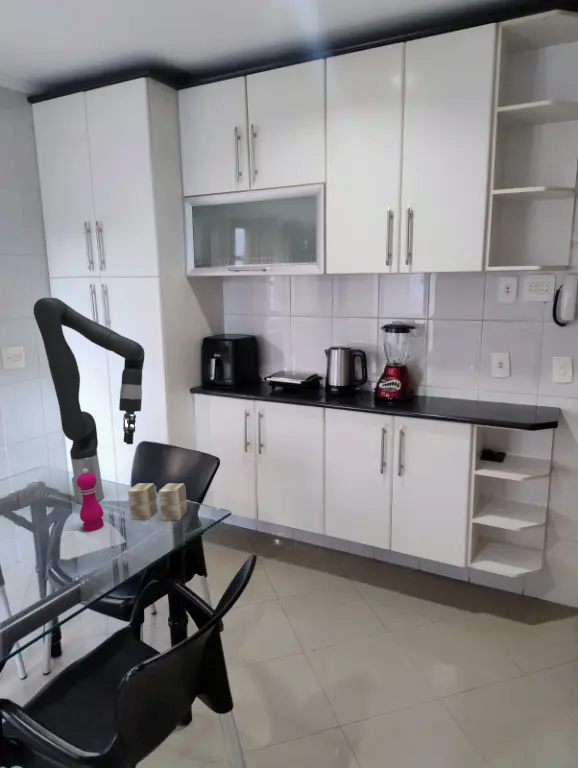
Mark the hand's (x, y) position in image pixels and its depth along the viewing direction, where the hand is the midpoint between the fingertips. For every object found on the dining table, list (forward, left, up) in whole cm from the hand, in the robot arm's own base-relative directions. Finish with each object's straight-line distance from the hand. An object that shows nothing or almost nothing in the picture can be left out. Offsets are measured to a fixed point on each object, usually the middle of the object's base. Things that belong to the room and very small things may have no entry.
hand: (128, 443), depth 187 cm
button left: (+9, -5, -19) cm, 22 cm away
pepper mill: (-5, -20, -22) cm, 30 cm away
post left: (+9, -11, -22) cm, 26 cm away
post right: (+20, -11, -22) cm, 32 cm away
